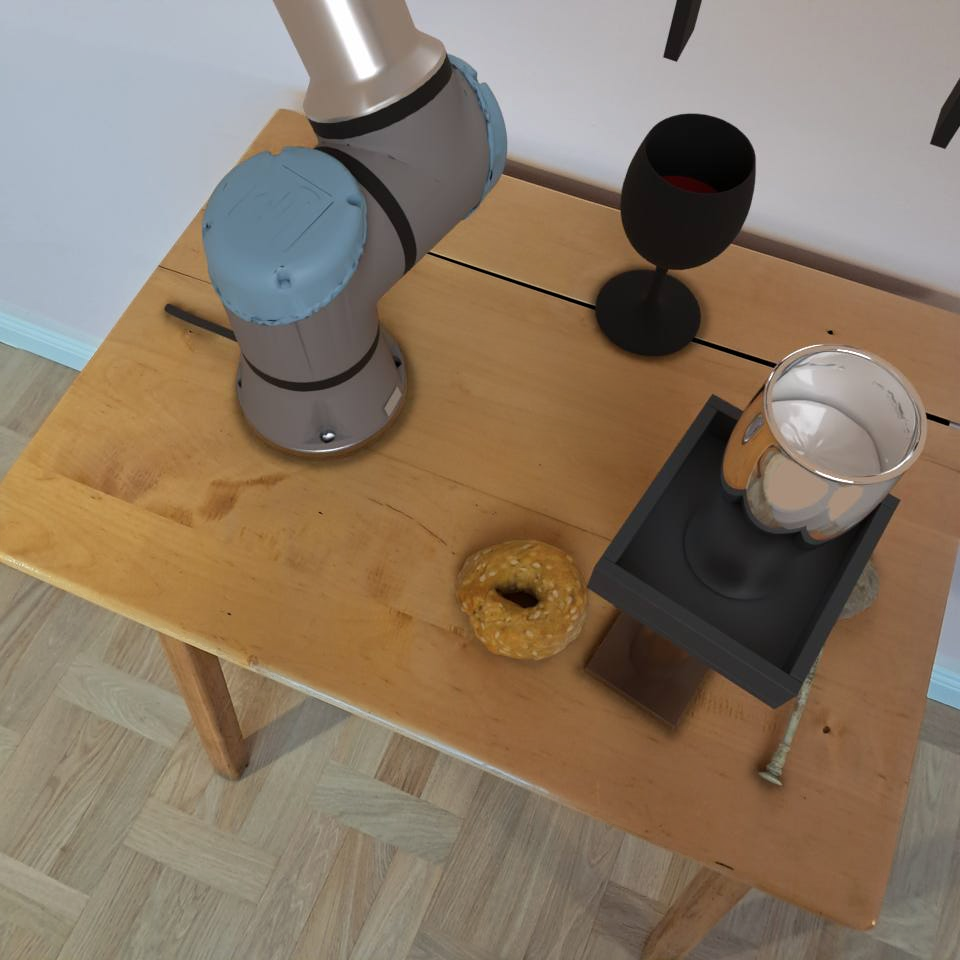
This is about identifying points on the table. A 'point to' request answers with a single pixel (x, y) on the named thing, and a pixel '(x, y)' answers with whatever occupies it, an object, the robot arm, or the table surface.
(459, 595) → the bagel
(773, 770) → the soupspoon
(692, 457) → the tray
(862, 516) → the silver metal cup
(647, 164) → the wine glass
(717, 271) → the table surface
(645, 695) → the stand
